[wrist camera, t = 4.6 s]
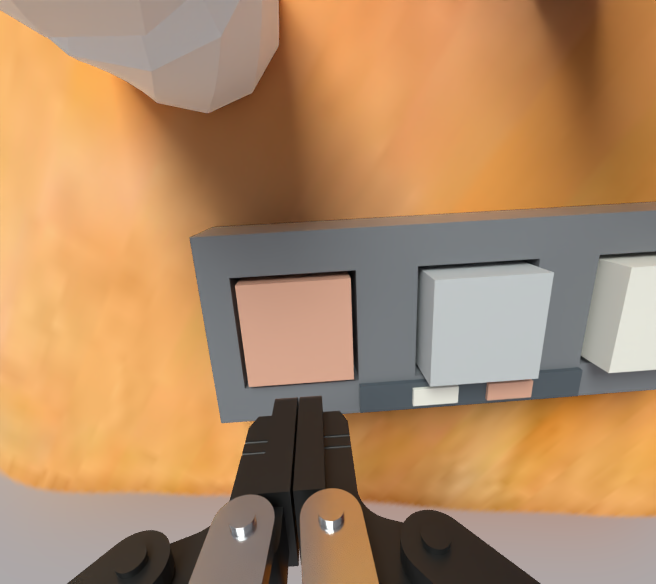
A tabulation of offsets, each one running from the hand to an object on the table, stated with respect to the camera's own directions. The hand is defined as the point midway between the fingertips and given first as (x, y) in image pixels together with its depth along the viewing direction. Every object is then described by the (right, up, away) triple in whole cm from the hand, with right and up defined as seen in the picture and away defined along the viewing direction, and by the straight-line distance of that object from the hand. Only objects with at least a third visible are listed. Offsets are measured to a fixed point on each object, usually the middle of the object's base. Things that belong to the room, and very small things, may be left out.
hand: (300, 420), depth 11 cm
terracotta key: (-1, +3, +9) cm, 9 cm away
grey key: (+8, +3, +8) cm, 12 cm away
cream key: (+17, +4, +8) cm, 19 cm away
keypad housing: (+8, +4, +10) cm, 14 cm away
